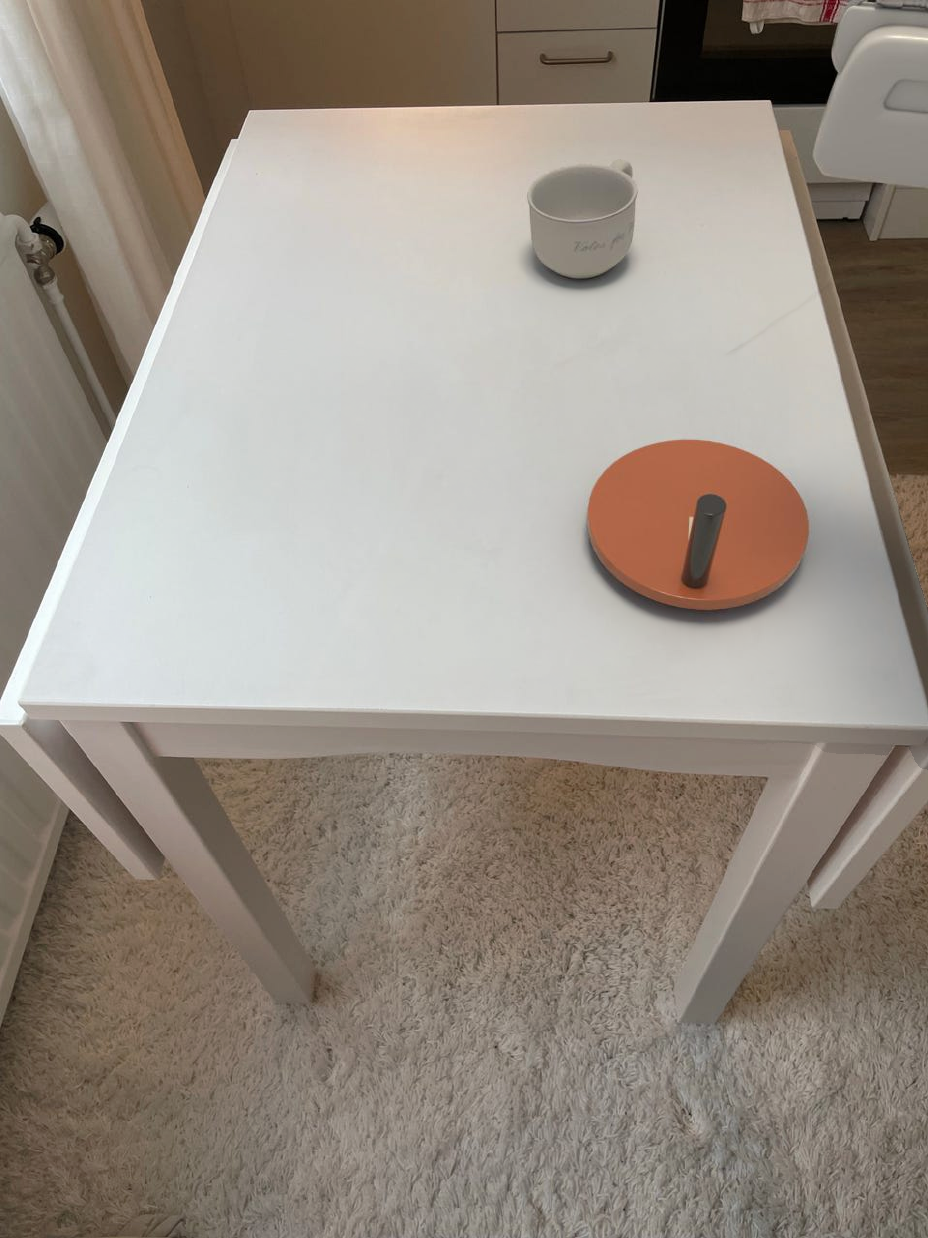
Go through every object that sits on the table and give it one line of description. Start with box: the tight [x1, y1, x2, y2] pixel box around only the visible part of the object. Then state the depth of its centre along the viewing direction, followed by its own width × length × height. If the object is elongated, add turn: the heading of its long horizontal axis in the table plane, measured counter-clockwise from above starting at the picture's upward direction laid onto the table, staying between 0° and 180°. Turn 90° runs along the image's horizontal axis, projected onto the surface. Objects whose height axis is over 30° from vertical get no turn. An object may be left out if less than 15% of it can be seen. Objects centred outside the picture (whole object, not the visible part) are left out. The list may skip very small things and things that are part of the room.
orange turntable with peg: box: [586, 439, 810, 611], centre depth 72 cm, size 17×17×9 cm
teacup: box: [526, 159, 639, 279], centre depth 98 cm, size 14×11×8 cm
